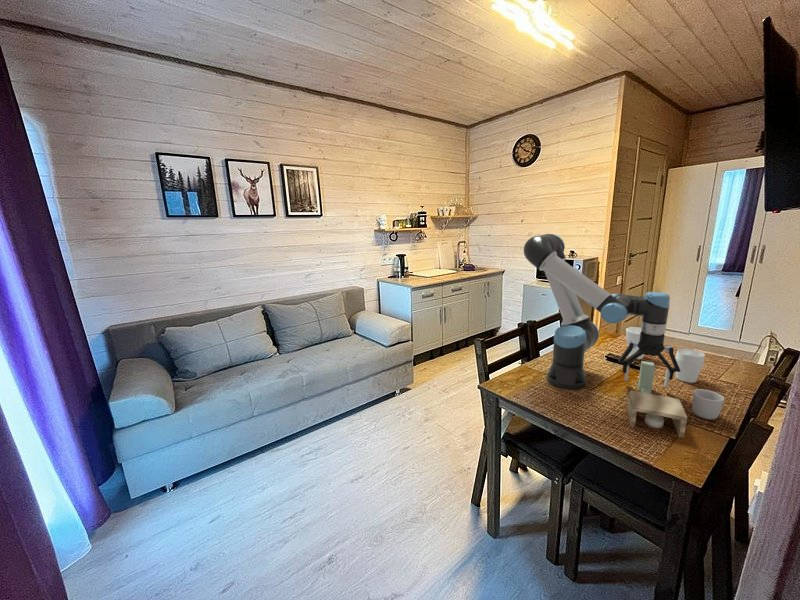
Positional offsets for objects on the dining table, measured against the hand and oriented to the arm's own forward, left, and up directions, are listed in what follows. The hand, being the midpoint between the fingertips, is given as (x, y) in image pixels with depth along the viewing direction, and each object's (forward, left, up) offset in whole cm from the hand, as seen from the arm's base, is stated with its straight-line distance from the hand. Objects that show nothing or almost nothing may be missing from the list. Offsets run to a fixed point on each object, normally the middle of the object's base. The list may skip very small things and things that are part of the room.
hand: (645, 383), depth 134 cm
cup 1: (0, +35, -3) cm, 35 cm away
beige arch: (0, -24, -3) cm, 25 cm away
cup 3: (+16, -11, -3) cm, 20 cm away
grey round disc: (0, -25, -3) cm, 26 cm away
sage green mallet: (0, -8, -3) cm, 9 cm away
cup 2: (+16, +17, -3) cm, 23 cm away
